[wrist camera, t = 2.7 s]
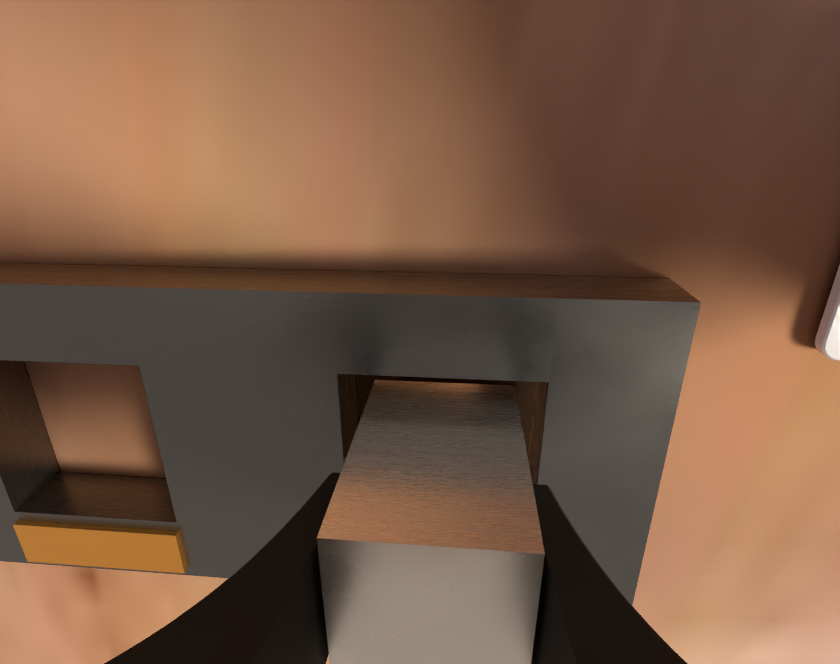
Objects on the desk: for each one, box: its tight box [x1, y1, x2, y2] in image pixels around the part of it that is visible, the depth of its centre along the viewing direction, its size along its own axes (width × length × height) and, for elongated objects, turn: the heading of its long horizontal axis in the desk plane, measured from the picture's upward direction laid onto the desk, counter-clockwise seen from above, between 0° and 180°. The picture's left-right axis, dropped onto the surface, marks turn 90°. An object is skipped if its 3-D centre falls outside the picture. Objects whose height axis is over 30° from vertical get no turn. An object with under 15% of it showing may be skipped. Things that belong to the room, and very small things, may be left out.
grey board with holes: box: [0, 263, 701, 605], centre depth 15 cm, size 23×10×2 cm, turn 90°
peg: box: [317, 380, 545, 664], centre depth 12 cm, size 4×4×6 cm
